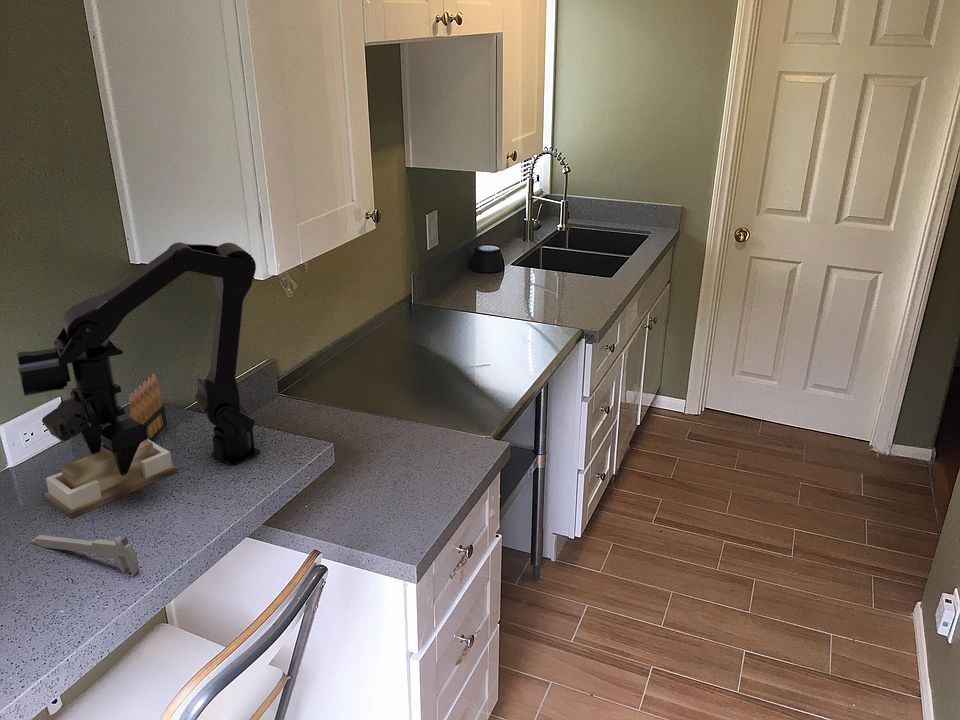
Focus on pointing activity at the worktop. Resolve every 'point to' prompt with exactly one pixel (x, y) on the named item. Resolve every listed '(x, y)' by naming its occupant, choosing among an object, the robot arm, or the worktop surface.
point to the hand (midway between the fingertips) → (109, 465)
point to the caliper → (96, 549)
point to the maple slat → (104, 468)
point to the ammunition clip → (148, 407)
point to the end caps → (92, 489)
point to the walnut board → (112, 492)
